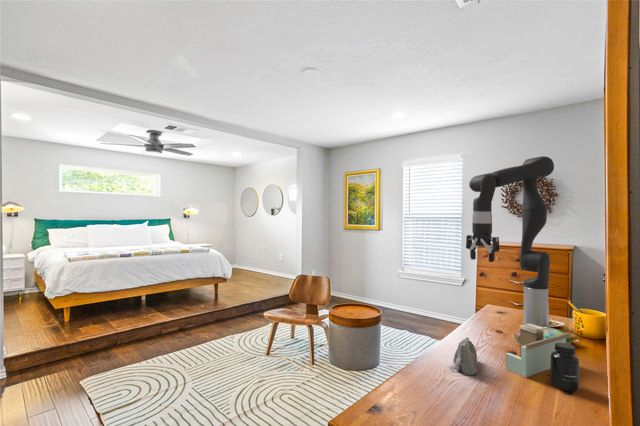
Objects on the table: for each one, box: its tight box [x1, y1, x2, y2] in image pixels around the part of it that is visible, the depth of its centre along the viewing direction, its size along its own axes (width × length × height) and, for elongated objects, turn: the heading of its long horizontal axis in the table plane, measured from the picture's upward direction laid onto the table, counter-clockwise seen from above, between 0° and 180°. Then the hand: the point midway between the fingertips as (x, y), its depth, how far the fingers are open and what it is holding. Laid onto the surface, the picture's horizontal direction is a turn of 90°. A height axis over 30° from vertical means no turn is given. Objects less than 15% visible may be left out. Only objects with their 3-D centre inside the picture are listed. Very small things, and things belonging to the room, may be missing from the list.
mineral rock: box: [453, 337, 478, 376], centre depth 111 cm, size 13×11×10 cm
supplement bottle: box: [549, 342, 580, 393], centre depth 98 cm, size 7×7×12 cm
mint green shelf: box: [505, 332, 569, 378], centre depth 112 cm, size 22×9×10 cm, turn 117°
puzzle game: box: [514, 326, 579, 345], centre depth 130 cm, size 12×5×20 cm
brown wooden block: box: [519, 323, 544, 357], centre depth 113 cm, size 5×5×12 cm
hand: (481, 260), depth 143 cm, fingers open, 8 cm apart
